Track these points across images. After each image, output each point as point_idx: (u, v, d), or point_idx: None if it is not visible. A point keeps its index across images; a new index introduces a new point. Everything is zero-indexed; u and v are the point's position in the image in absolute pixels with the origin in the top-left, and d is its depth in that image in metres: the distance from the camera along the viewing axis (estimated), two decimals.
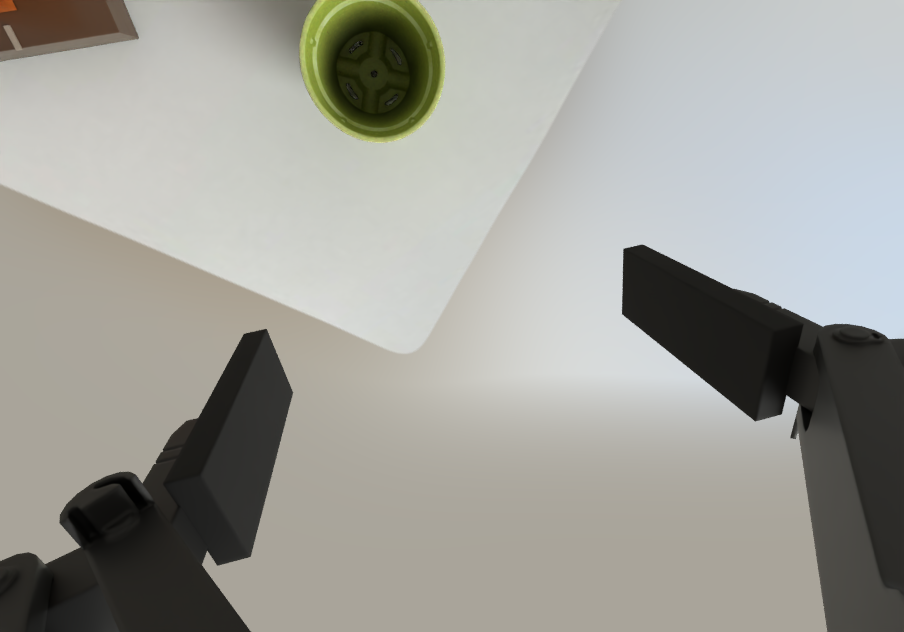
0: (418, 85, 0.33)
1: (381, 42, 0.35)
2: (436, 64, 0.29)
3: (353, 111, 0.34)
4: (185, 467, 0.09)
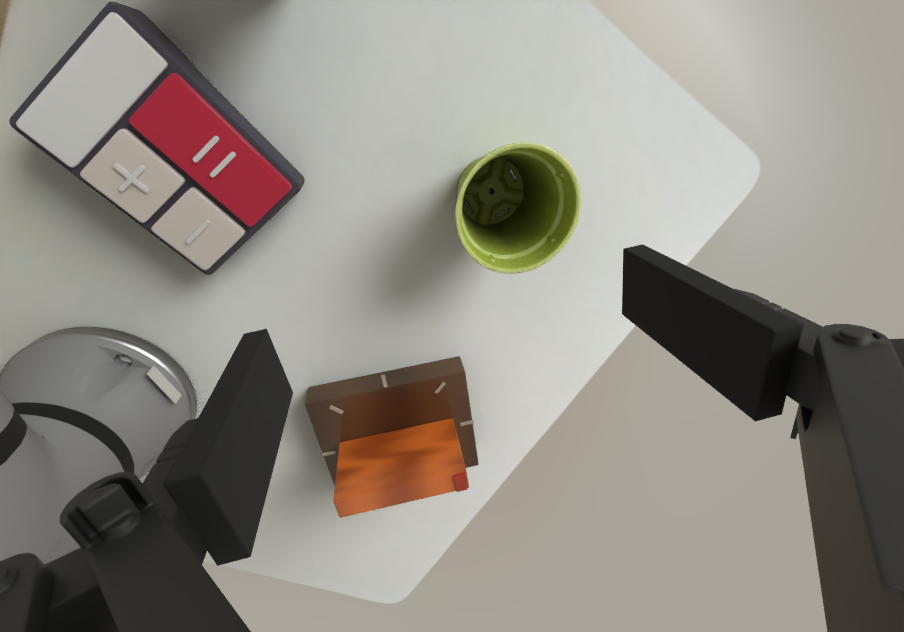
0: (517, 157, 0.34)
1: None
2: (519, 149, 0.30)
3: (528, 218, 0.37)
4: (185, 467, 0.09)
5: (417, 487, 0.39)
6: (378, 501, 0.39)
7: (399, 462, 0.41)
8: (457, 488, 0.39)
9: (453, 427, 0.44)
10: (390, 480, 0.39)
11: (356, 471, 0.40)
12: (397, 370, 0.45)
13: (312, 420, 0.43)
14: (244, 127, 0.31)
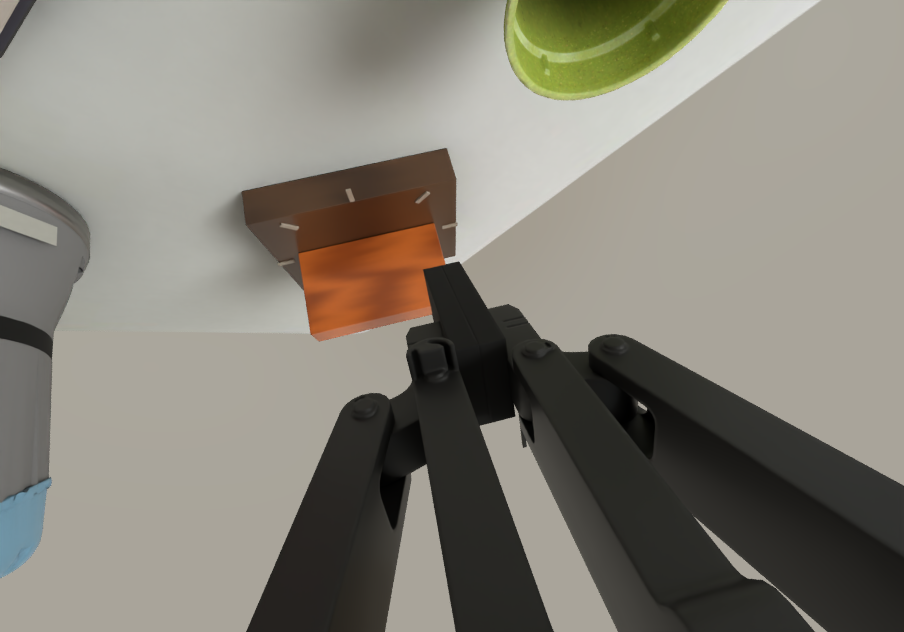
0: None
1: None
2: None
3: None
4: (461, 342, 0.12)
5: (401, 315, 0.36)
6: (359, 328, 0.36)
7: (377, 286, 0.36)
8: None
9: (436, 237, 0.37)
10: (370, 309, 0.35)
11: (329, 296, 0.36)
12: (363, 168, 0.33)
13: (259, 237, 0.33)
14: None
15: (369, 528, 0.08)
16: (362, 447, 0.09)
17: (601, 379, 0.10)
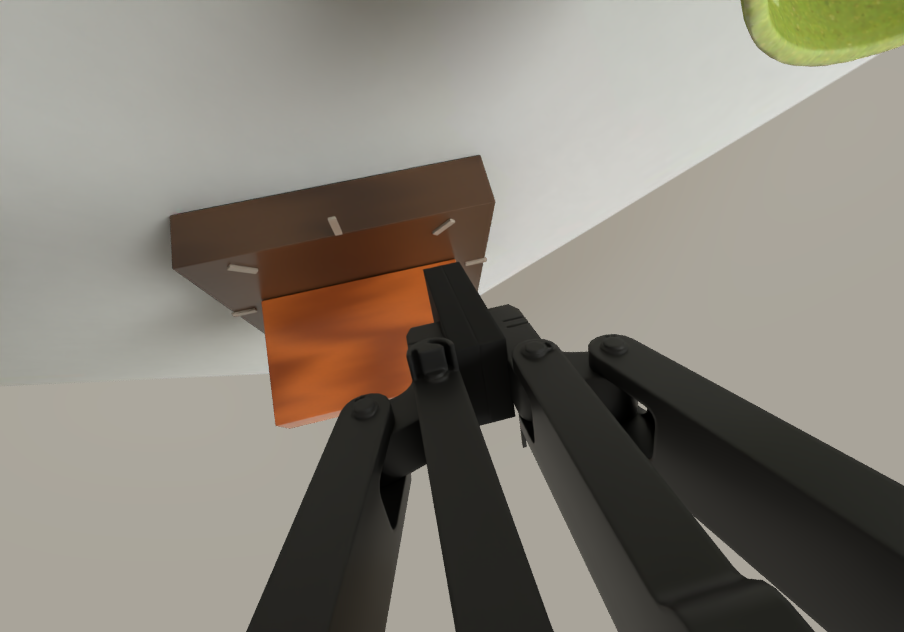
0: None
1: None
2: None
3: None
4: (461, 342, 0.12)
5: None
6: None
7: (375, 351, 0.25)
8: None
9: None
10: (364, 387, 0.24)
11: (304, 366, 0.24)
12: (355, 183, 0.22)
13: (198, 284, 0.22)
14: None
15: (369, 528, 0.08)
16: (362, 447, 0.09)
17: (601, 379, 0.10)
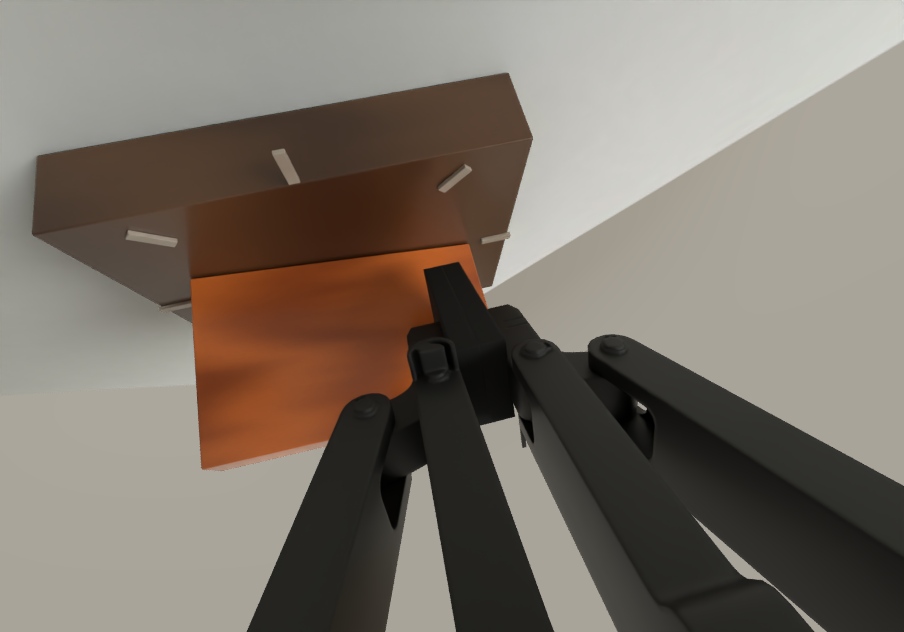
0: None
1: None
2: None
3: None
4: (462, 342, 0.12)
5: None
6: (315, 446, 0.17)
7: (360, 360, 0.17)
8: None
9: (473, 271, 0.20)
10: None
11: (253, 377, 0.16)
12: (323, 111, 0.15)
13: (89, 262, 0.15)
14: None
15: (370, 528, 0.08)
16: (363, 447, 0.09)
17: (600, 380, 0.10)
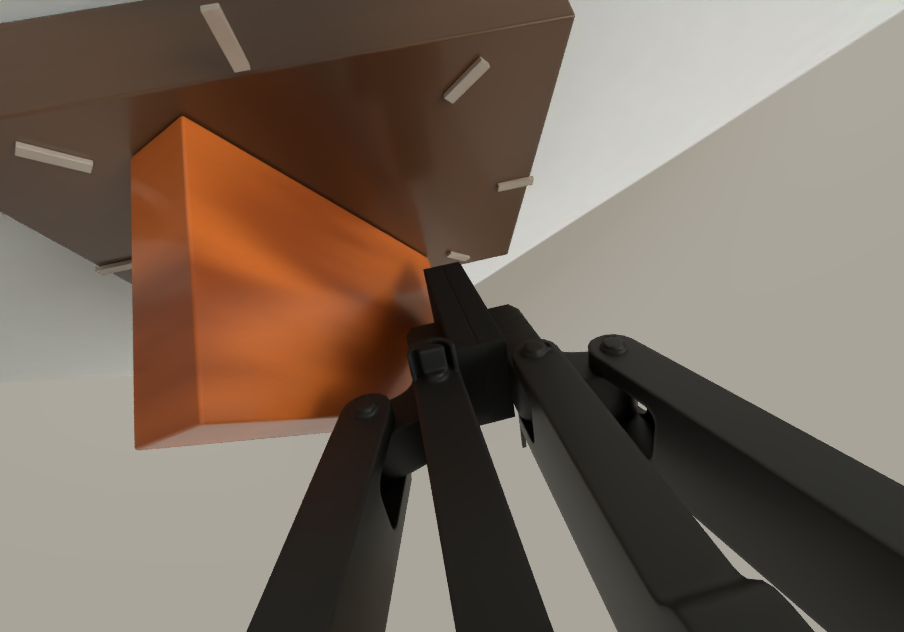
0: None
1: None
2: None
3: None
4: (461, 342, 0.12)
5: None
6: (302, 429, 0.12)
7: (371, 331, 0.14)
8: None
9: None
10: (363, 385, 0.13)
11: (270, 303, 0.11)
12: None
13: None
14: None
15: (369, 528, 0.08)
16: (362, 447, 0.09)
17: (601, 380, 0.10)
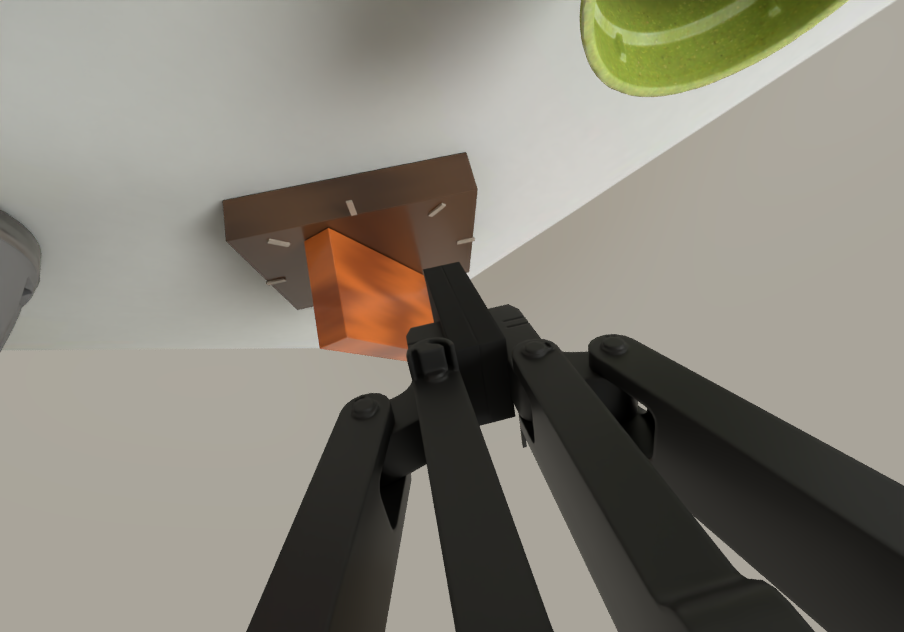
0: None
1: None
2: None
3: None
4: (461, 342, 0.12)
5: None
6: (369, 350, 0.29)
7: (396, 311, 0.31)
8: None
9: (426, 290, 0.37)
10: (394, 334, 0.30)
11: (360, 298, 0.28)
12: (367, 175, 0.28)
13: (243, 255, 0.28)
14: None
15: (369, 528, 0.08)
16: (362, 447, 0.09)
17: (601, 380, 0.10)
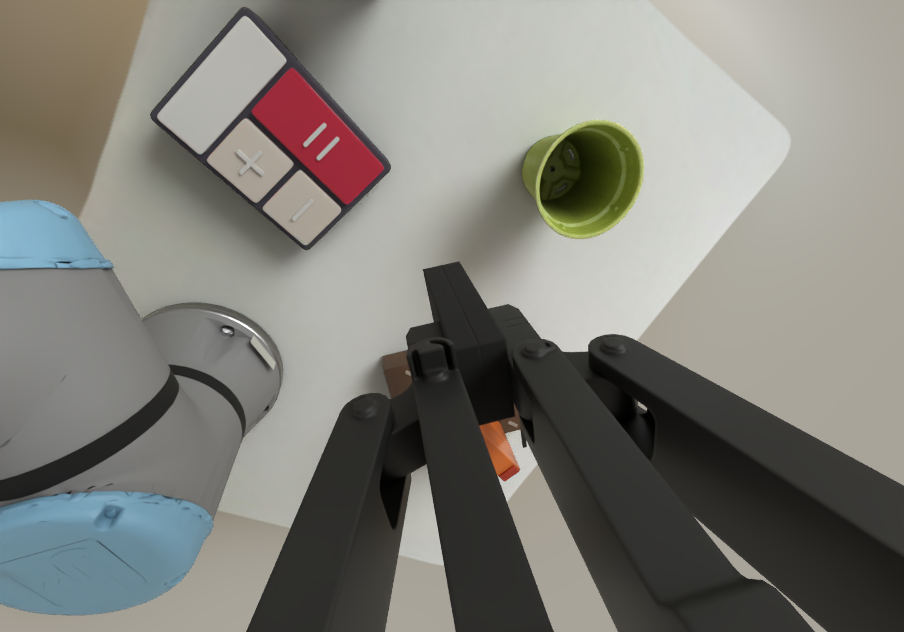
0: (581, 135, 0.38)
1: None
2: (591, 126, 0.34)
3: (587, 192, 0.41)
4: (461, 342, 0.12)
5: (491, 450, 0.43)
6: None
7: None
8: (503, 475, 0.45)
9: (503, 431, 0.51)
10: (481, 428, 0.43)
11: None
12: None
13: (389, 385, 0.47)
14: (345, 115, 0.35)
15: (369, 528, 0.08)
16: (362, 447, 0.09)
17: (601, 380, 0.10)
